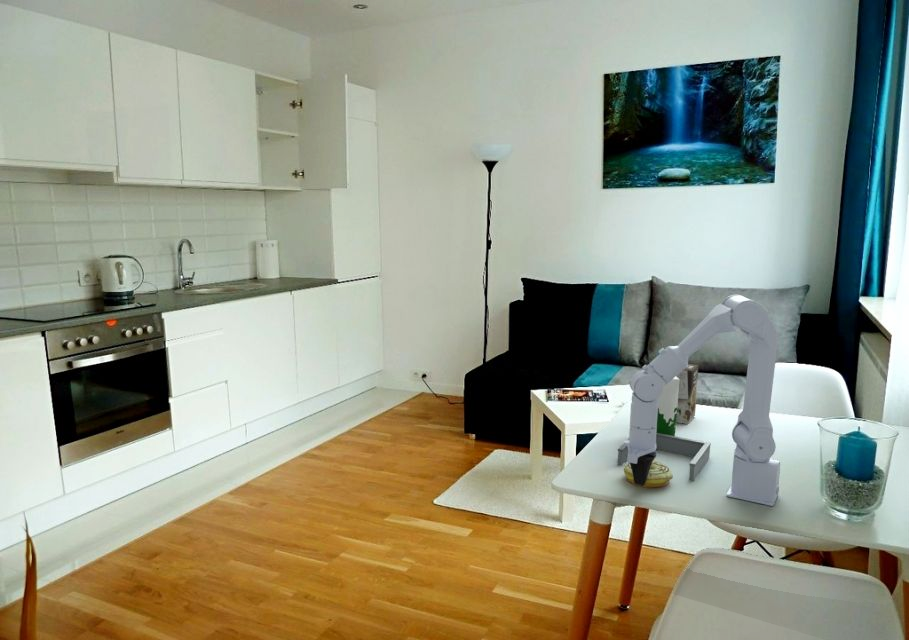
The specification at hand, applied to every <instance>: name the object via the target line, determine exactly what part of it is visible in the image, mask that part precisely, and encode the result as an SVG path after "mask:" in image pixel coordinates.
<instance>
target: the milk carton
mask: <svg viewBox="0 0 909 640" xmlns="http://www.w3.org/2000/svg"><path fill="white" fill-rule="evenodd" d="M679 380H680V379H679V378H677V377H674V378H673V379H672V380H671V381H670V382H669V383H667V385H665V386H663V391H662V394H661V396H660V397H658V405H657V406H658V414H657V431H656V433H660V434H665V435H671V436H676V429H677V422H676V420H677V405H678V391H679Z"/></svg>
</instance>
